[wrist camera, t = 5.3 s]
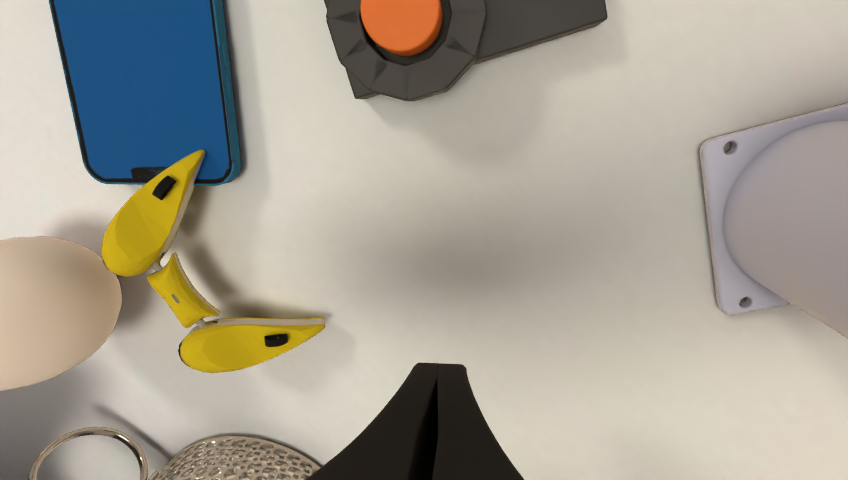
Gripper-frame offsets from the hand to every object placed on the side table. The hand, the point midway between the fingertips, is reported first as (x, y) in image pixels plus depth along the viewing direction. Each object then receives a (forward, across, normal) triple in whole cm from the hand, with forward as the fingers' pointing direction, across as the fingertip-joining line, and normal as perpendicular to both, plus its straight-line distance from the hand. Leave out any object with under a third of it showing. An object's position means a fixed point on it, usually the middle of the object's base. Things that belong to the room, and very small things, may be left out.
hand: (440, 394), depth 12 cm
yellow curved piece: (+10, +11, 0) cm, 15 cm away
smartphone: (+9, +13, -12) cm, 20 cm away
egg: (+9, +19, +1) cm, 21 cm away
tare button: (+7, +2, -11) cm, 13 cm away
